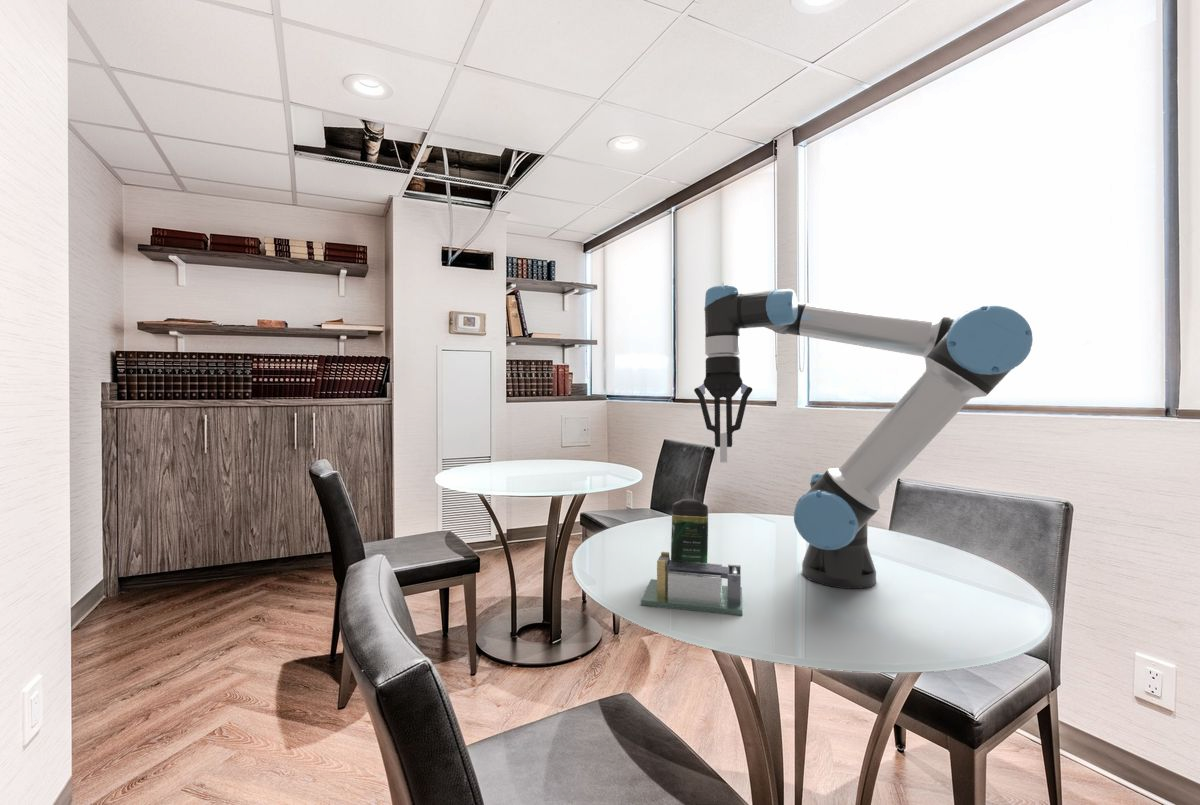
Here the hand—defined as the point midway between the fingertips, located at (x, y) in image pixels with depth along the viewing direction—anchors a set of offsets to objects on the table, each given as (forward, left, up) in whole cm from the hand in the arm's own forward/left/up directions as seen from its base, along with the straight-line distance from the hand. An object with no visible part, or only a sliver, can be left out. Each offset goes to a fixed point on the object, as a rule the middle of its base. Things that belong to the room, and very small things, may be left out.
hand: (723, 461), depth 119 cm
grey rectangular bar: (+6, +15, -20) cm, 26 cm away
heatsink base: (+5, +15, -26) cm, 30 cm away
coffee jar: (+7, +7, -27) cm, 28 cm away
